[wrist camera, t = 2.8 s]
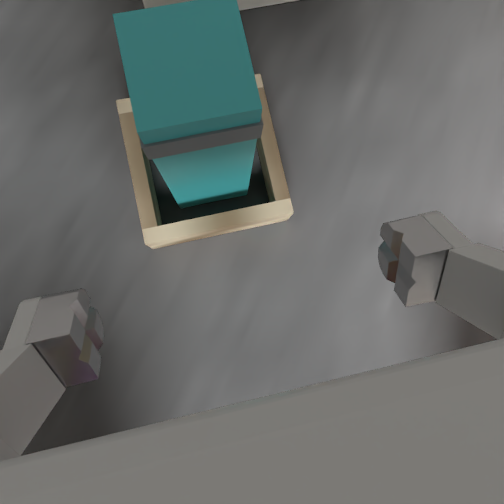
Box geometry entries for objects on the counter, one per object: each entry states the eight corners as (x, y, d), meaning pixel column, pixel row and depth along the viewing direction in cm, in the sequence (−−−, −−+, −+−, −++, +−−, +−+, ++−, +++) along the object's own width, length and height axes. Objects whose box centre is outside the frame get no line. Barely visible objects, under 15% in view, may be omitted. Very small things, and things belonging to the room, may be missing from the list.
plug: (179, 210, 23) (134, 136, 12) (164, 142, 24) (109, 11, 13) (249, 196, 24) (266, 110, 13) (233, 128, 24) (237, -10, 13)
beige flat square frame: (153, 249, 23) (145, 244, 21) (126, 118, 24) (115, 100, 21) (287, 220, 24) (293, 212, 21) (257, 93, 24) (260, 73, 22)
